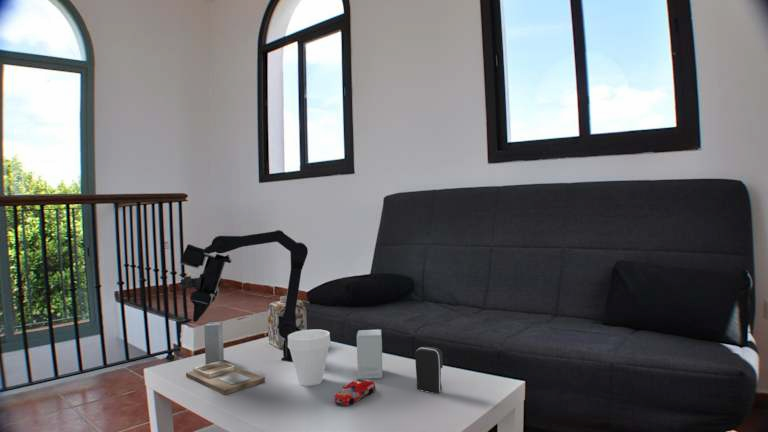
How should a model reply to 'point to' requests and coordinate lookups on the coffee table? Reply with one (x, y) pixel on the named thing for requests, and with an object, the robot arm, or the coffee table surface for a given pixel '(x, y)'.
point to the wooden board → (224, 377)
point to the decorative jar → (274, 318)
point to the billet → (214, 342)
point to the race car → (354, 392)
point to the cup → (309, 354)
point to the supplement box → (369, 354)
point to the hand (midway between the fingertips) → (197, 318)
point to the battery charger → (429, 369)
